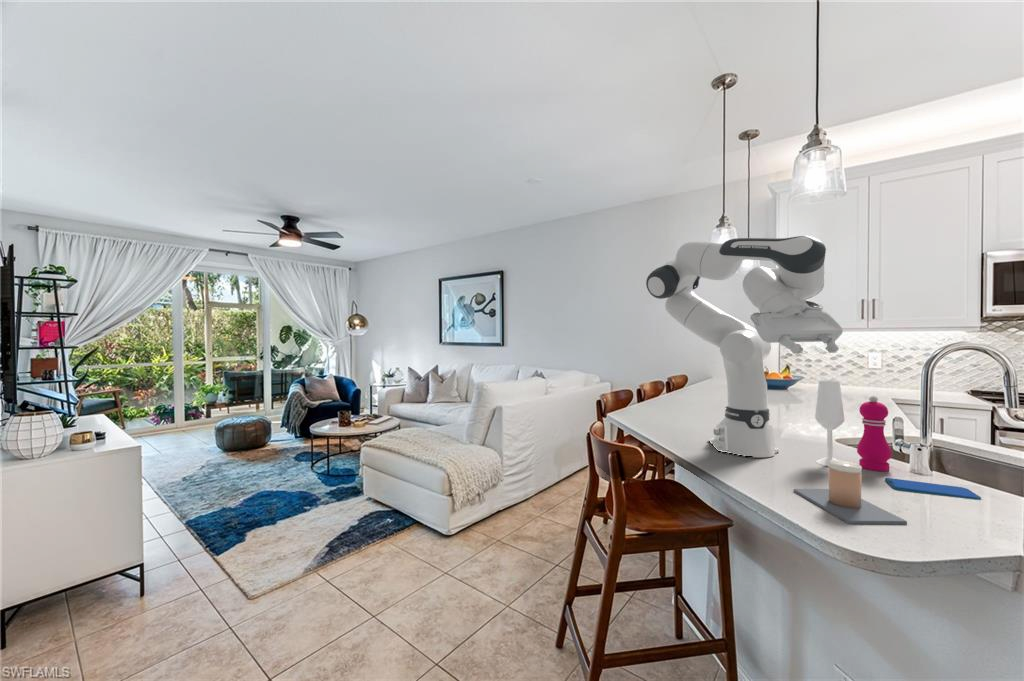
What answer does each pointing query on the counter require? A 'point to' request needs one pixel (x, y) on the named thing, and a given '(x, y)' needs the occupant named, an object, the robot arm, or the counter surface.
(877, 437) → the pepper mill
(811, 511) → the counter surface
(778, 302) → the robot arm
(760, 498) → the counter surface
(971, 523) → the counter surface
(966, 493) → the smartphone
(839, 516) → the slate mat
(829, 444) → the champagne flute
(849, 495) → the terracotta jar
